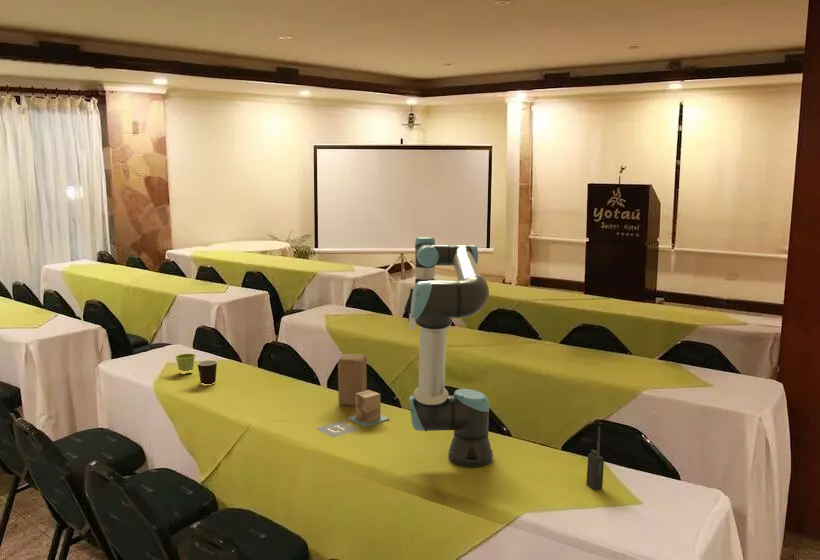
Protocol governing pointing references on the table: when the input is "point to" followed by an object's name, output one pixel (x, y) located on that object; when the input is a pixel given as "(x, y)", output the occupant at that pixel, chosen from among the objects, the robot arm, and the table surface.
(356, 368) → the wooden block
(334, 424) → the plate
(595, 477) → the walkie-talkie
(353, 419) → the pad
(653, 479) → the table surface
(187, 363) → the plant pot
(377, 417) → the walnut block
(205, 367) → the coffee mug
